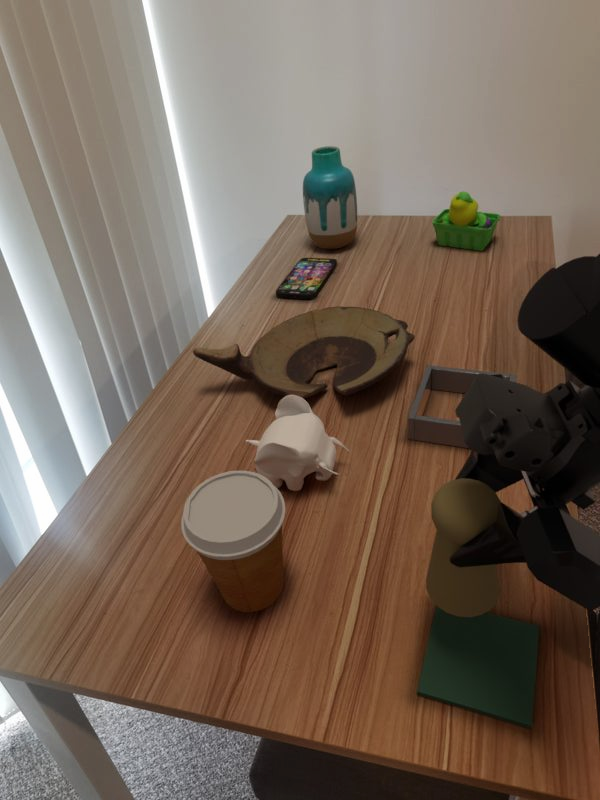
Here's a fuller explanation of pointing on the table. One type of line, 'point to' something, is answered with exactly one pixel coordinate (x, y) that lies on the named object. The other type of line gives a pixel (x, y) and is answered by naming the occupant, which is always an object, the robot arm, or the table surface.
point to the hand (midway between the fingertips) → (447, 535)
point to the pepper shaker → (456, 525)
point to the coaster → (482, 665)
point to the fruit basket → (465, 224)
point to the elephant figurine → (295, 446)
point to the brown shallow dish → (319, 351)
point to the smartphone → (306, 278)
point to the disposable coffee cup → (238, 536)
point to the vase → (330, 200)
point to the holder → (437, 427)
